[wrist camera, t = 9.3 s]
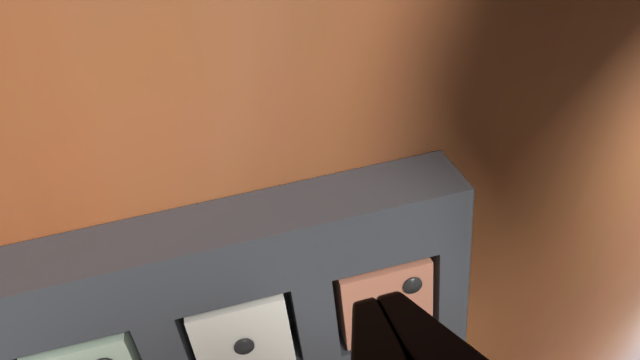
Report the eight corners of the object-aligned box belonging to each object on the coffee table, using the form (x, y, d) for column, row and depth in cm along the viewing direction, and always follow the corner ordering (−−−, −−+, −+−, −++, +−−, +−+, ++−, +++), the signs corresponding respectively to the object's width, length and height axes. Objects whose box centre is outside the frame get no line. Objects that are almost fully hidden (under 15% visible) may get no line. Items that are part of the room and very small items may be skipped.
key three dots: (411, 226, 24) (434, 264, 22) (412, 290, 26) (433, 330, 24) (325, 247, 24) (340, 287, 22) (333, 310, 26) (348, 352, 24)
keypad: (441, 150, 23) (474, 188, 21) (438, 318, 29) (464, 364, 26) (-47, 256, 21) (-76, 315, 18) (53, 419, 26) (42, 481, 24)
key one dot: (274, 259, 23) (285, 301, 21) (286, 322, 25) (297, 366, 23) (182, 281, 23) (184, 326, 21) (202, 343, 25) (206, 390, 23)
